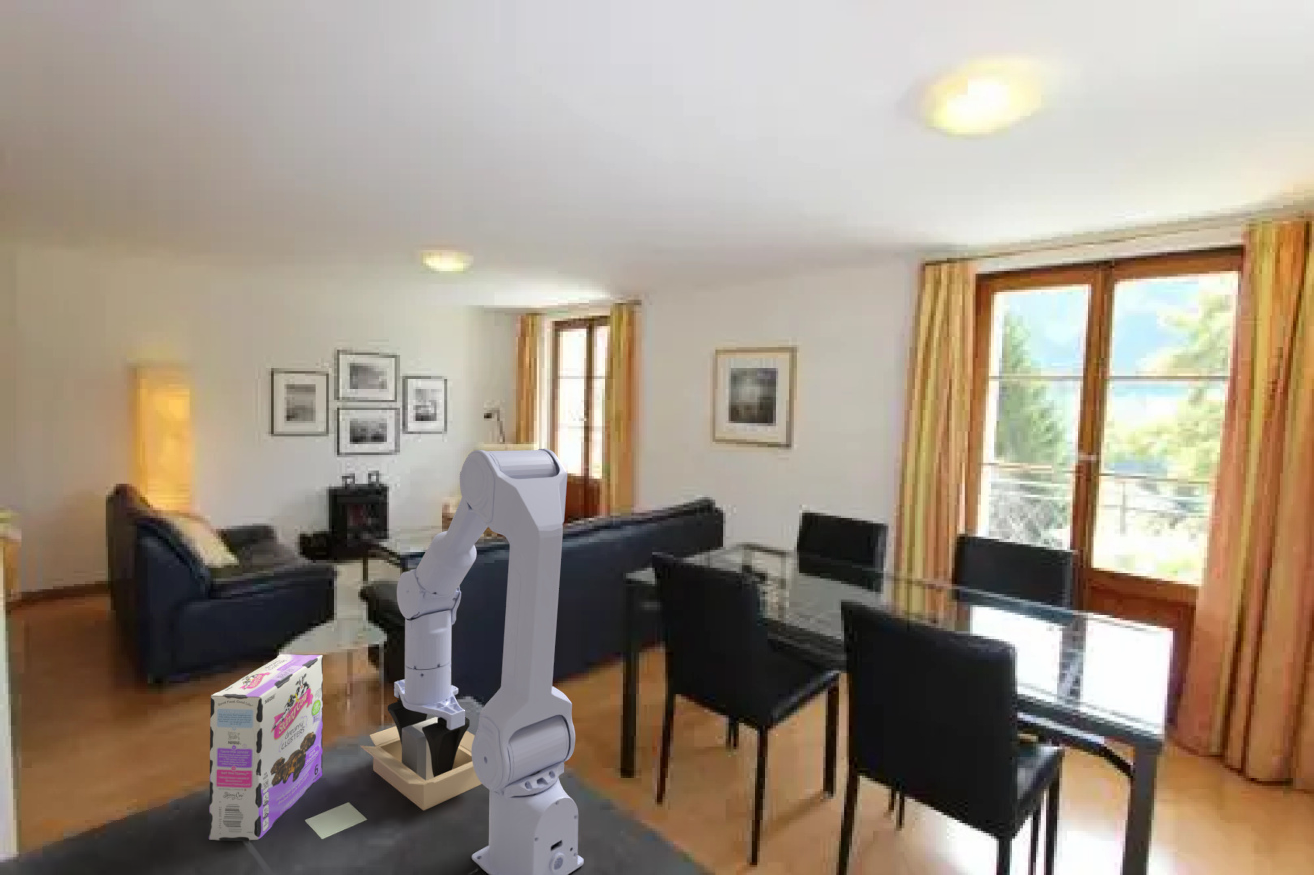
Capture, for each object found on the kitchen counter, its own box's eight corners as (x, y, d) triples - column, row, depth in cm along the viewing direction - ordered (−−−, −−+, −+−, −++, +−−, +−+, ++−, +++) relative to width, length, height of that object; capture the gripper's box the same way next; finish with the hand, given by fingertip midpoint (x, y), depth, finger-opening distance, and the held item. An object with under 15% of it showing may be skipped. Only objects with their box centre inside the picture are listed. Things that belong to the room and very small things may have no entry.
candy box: (259, 844, 73) (259, 696, 72) (206, 842, 73) (206, 695, 73) (324, 777, 87) (325, 652, 86) (280, 775, 87) (280, 651, 86)
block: (436, 763, 90) (437, 715, 89) (452, 774, 87) (453, 725, 87) (401, 778, 86) (401, 728, 86) (417, 790, 83) (417, 738, 83)
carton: (435, 742, 96) (435, 712, 96) (503, 786, 85) (503, 752, 85) (353, 773, 88) (353, 740, 87) (416, 826, 76) (417, 789, 76)
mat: (366, 822, 77) (367, 819, 77) (322, 842, 73) (322, 838, 73) (348, 805, 80) (348, 802, 80) (304, 823, 77) (304, 820, 77)
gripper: (486, 668, 84) (485, 773, 84) (428, 641, 94) (427, 736, 94) (435, 684, 79) (434, 796, 79) (379, 653, 89) (378, 754, 89)
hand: (427, 765), depth 86 cm, fingers open, 7 cm apart
